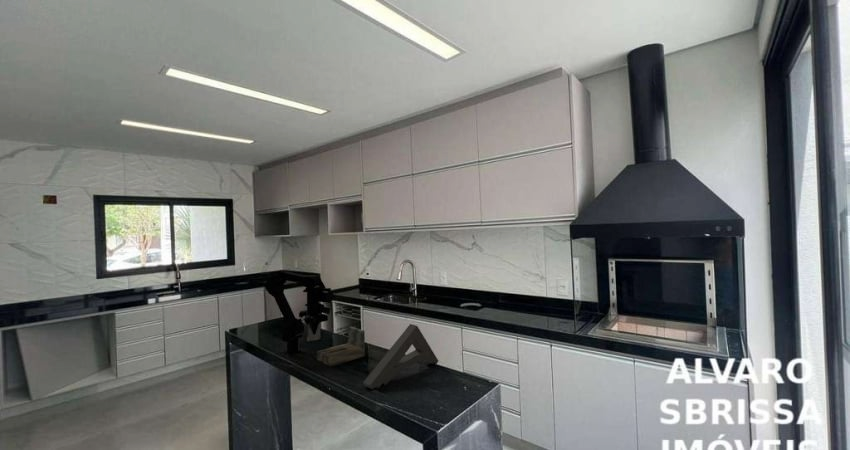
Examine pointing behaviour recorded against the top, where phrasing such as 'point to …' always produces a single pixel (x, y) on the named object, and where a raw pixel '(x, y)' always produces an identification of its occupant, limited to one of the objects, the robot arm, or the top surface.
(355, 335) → the post base
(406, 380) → the top surface
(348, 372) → the top surface
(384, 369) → the wall bracket
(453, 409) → the top surface
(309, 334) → the bracket plate
